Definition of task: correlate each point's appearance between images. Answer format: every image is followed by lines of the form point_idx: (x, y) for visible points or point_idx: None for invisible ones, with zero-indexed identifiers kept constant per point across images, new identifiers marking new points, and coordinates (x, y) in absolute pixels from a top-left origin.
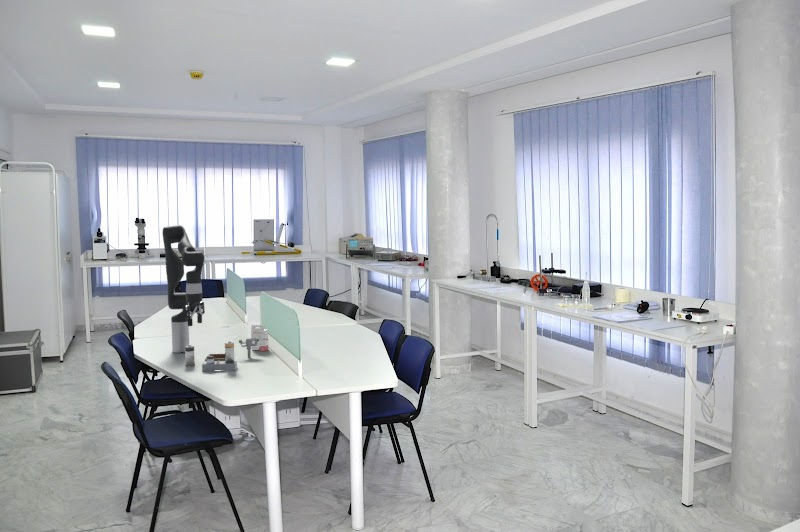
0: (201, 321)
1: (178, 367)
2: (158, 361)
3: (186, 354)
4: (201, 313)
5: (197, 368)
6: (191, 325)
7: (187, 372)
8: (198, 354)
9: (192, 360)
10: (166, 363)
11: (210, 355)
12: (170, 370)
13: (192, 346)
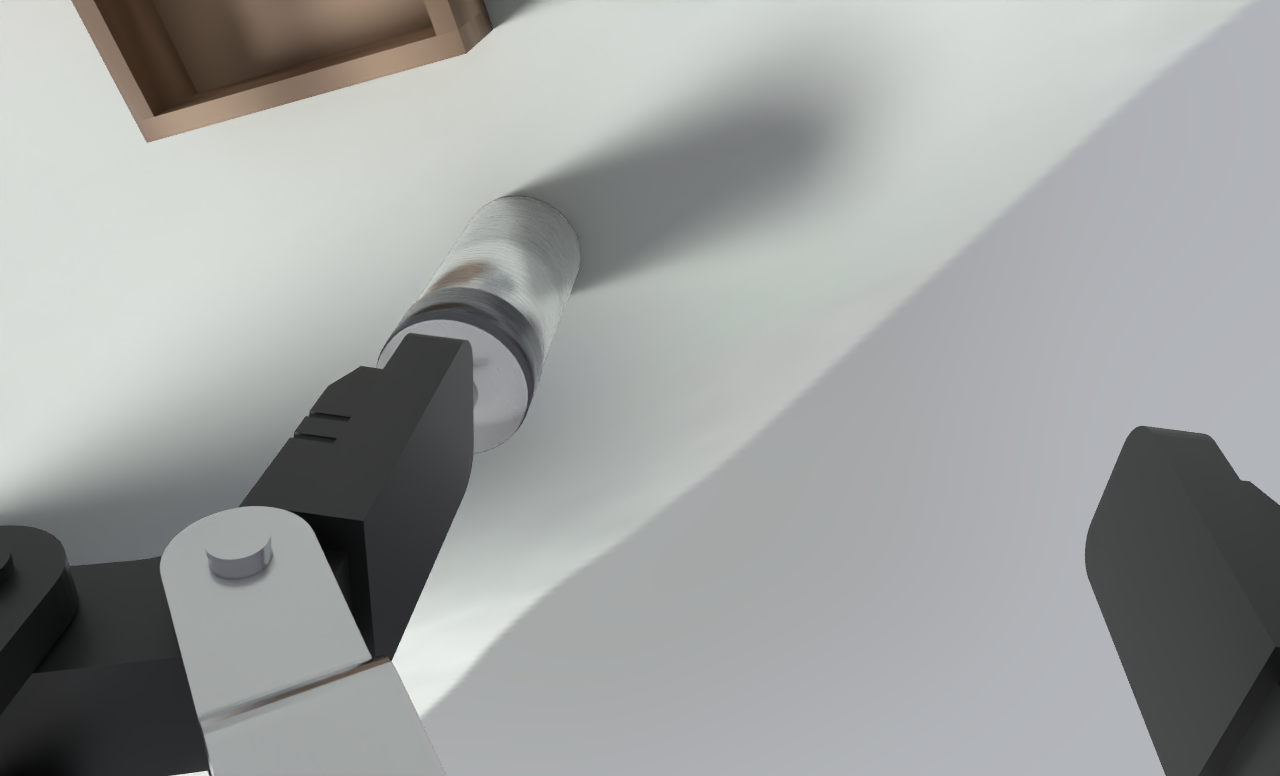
0: (435, 360)
1: (649, 349)
2: (450, 639)
3: (546, 353)
4: (273, 609)
5: (655, 76)
6: (1200, 449)
7: (894, 119)
8: (4, 384)
9: (532, 235)
10: (505, 542)
11: (163, 106)
12: (806, 379)
13: None
